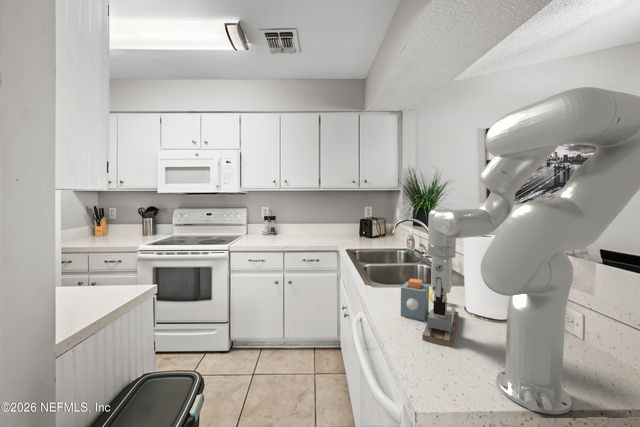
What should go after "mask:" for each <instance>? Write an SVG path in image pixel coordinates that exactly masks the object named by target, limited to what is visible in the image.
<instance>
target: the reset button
mask: <svg viewBox="0 0 640 427" xmlns="http://www.w3.org/2000/svg"><path fill="white" fill-rule="evenodd" d="M407 282H408V288H415V289H422V284H423V279H416V278H409V280H408V281H407Z"/></svg>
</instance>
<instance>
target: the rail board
mask: <svg viewBox="0 0 640 427" xmlns="http://www.w3.org/2000/svg"><path fill="white" fill-rule="evenodd" d="M456 309H457V308H456V307H451V309H450V310H449V309H447V310H446V313H450V314H452V324H451V329H450V332H449V331H444V330H439V329H435V328H430V327H428V322H427V323H426V326H425V328H424V331H423V332H422V340H423V341H425V342H430V343H434V344H439V345H443V346H448V347H451V348H453V347H454V342H455V338H456V337H455V336H456V332H457V331H456V330H457V327H458V320H459V311H456Z"/></svg>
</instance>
